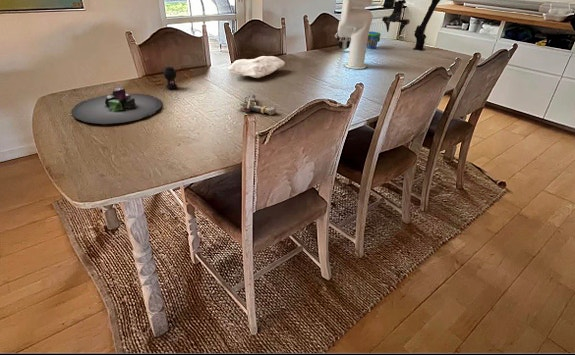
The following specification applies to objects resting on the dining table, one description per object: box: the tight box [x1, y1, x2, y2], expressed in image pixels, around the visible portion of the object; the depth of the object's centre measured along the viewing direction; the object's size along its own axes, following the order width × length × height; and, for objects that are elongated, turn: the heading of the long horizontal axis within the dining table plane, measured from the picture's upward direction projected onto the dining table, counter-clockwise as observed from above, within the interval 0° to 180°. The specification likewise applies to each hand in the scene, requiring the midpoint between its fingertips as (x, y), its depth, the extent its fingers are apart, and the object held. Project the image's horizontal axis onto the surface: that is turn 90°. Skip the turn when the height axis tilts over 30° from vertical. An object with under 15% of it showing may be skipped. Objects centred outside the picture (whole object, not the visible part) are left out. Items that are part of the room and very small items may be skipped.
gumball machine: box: [161, 66, 179, 90], centre depth 173 cm, size 7×6×10 cm
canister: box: [340, 39, 348, 50], centre depth 246 cm, size 5×5×5 cm
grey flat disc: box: [70, 86, 163, 125], centre depth 150 cm, size 35×35×9 cm
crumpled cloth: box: [227, 55, 286, 79], centre depth 196 cm, size 24×35×9 cm
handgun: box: [239, 93, 277, 116], centre depth 158 cm, size 3×18×15 cm
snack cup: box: [366, 31, 381, 49], centre depth 259 cm, size 16×10×10 cm
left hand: (343, 47), depth 247 cm, fingers closed on canister, 4 cm apart
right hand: (393, 33), depth 266 cm, fingers open, 9 cm apart
